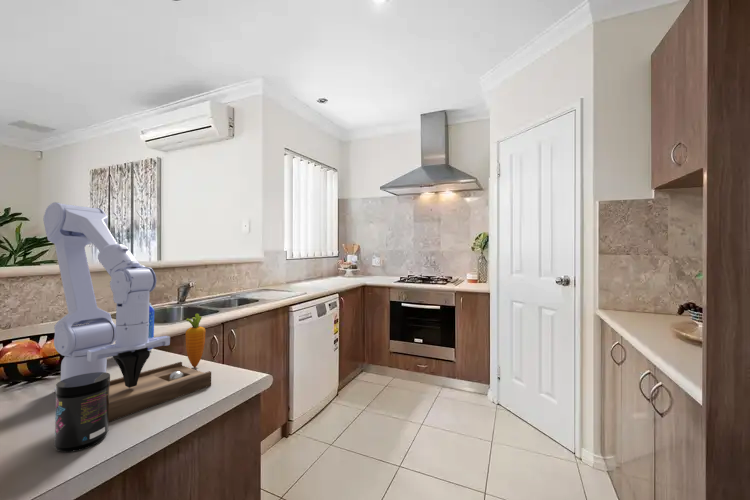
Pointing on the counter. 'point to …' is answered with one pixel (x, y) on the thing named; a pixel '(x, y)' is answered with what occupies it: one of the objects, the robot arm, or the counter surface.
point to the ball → (176, 375)
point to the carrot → (195, 340)
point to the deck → (153, 389)
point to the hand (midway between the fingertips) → (130, 385)
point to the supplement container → (81, 411)
